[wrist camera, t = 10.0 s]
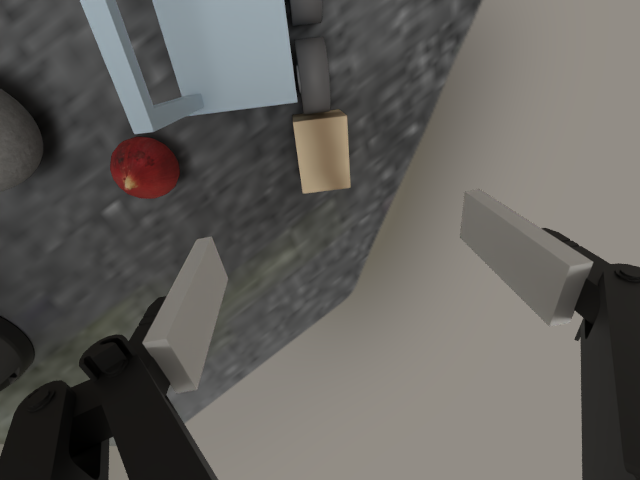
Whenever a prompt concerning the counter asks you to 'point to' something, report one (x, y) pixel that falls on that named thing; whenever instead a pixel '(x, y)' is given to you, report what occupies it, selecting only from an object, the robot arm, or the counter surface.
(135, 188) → the red rounded piece
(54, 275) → the counter surface
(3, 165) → the decorative ball
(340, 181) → the block
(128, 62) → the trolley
